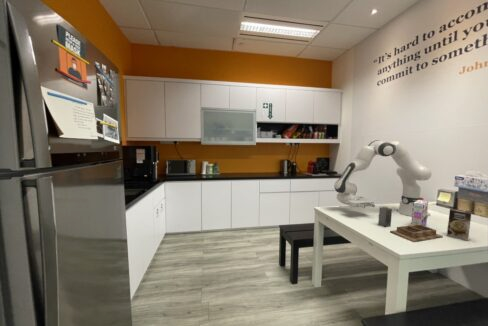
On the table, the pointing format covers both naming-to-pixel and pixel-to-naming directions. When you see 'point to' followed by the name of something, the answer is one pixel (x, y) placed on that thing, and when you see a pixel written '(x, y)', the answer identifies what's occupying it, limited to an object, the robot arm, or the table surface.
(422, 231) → the walnut cell rack
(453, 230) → the coffee box
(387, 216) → the battery cell
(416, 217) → the candy box
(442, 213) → the table surface
